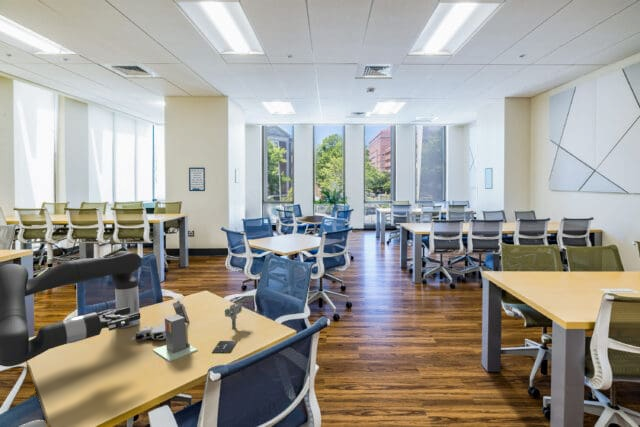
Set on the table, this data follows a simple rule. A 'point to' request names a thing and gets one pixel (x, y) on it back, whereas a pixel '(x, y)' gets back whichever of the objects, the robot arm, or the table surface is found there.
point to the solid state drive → (224, 347)
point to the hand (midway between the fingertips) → (134, 312)
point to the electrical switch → (180, 309)
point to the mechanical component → (233, 313)
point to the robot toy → (151, 333)
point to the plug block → (175, 333)
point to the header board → (172, 356)
